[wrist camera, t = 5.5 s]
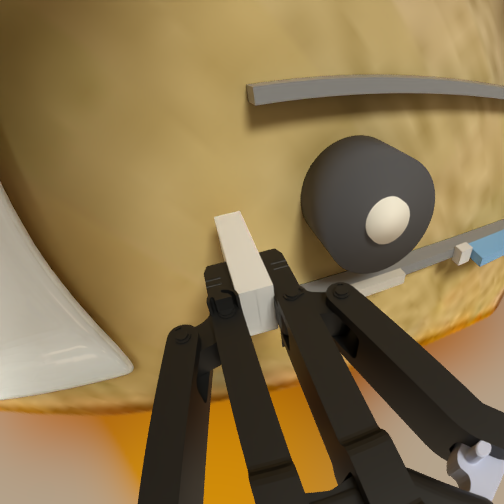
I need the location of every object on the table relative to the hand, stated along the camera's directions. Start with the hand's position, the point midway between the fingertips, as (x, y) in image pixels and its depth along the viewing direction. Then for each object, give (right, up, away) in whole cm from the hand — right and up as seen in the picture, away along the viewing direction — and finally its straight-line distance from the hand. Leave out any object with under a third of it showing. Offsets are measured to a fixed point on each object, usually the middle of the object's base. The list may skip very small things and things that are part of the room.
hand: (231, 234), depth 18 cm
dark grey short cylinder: (+8, +3, +2) cm, 9 cm away
